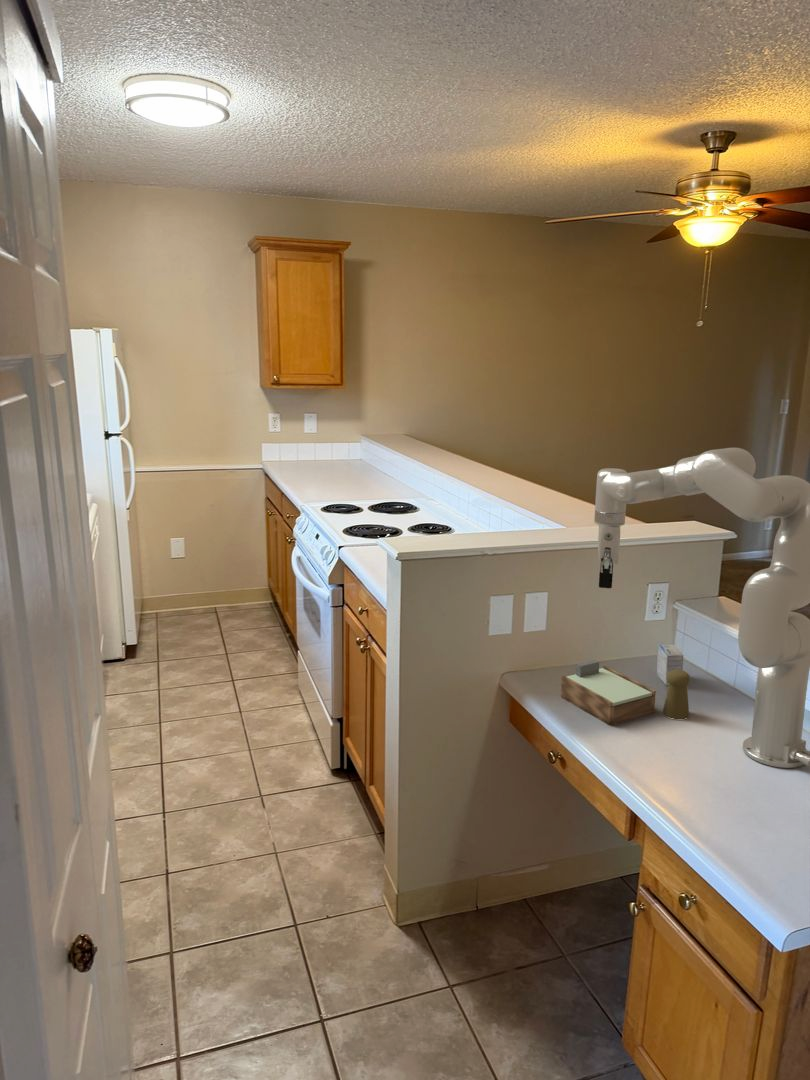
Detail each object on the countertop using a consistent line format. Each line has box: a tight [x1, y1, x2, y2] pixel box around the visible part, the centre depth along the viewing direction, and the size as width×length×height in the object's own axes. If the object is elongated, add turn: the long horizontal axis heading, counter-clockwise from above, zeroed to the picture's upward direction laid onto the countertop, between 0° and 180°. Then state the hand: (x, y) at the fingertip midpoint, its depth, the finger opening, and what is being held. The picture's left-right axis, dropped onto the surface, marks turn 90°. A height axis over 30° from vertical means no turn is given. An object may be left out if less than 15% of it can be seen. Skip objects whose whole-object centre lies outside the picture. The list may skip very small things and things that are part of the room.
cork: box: [662, 670, 691, 720], centre depth 180 cm, size 6×6×11 cm
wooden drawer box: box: [560, 665, 656, 726], centre depth 187 cm, size 18×14×6 cm
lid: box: [566, 659, 652, 706], centre depth 186 cm, size 18×12×4 cm
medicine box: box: [656, 644, 684, 686], centre depth 201 cm, size 8×4×9 cm, turn 179°
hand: (605, 582), depth 195 cm, fingers open, 9 cm apart
